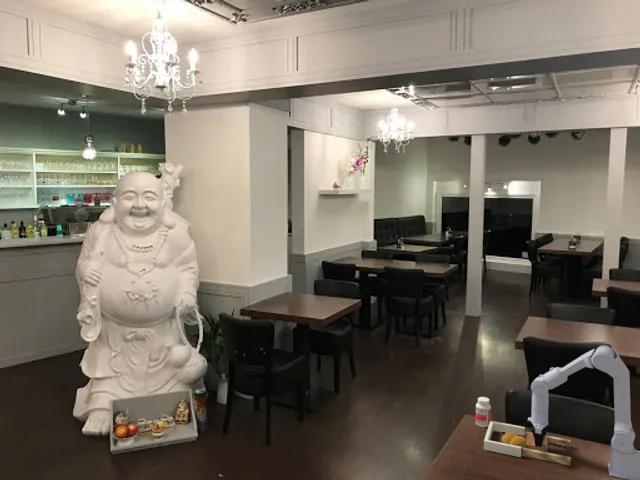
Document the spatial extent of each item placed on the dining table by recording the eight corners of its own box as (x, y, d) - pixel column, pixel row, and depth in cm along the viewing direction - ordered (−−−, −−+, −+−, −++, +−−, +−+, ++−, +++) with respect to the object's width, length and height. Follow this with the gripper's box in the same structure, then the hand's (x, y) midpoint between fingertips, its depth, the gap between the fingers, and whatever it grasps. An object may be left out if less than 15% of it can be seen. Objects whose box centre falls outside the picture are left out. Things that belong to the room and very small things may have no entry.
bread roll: (519, 452, 189) (520, 442, 189) (498, 443, 197) (499, 433, 196) (531, 445, 194) (532, 436, 194) (510, 436, 201) (511, 427, 201)
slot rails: (570, 446, 193) (570, 439, 193) (570, 465, 180) (570, 459, 180) (525, 437, 201) (525, 431, 200) (522, 455, 187) (522, 449, 187)
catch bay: (524, 435, 202) (524, 427, 202) (520, 457, 186) (520, 448, 186) (490, 428, 208) (490, 420, 208) (483, 449, 192) (483, 440, 191)
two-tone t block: (547, 443, 194) (546, 428, 194) (546, 454, 186) (545, 439, 186) (528, 441, 197) (527, 426, 197) (526, 452, 189) (525, 437, 189)
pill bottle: (485, 420, 216) (486, 395, 215) (493, 426, 210) (494, 401, 209) (472, 421, 214) (473, 397, 213) (480, 428, 208) (480, 403, 207)
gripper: (529, 399, 198) (528, 432, 200) (527, 415, 185) (525, 450, 187) (549, 403, 195) (548, 436, 196) (548, 418, 182) (546, 454, 184)
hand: (538, 443), depth 191 cm, fingers closed on two-tone t block, 4 cm apart
